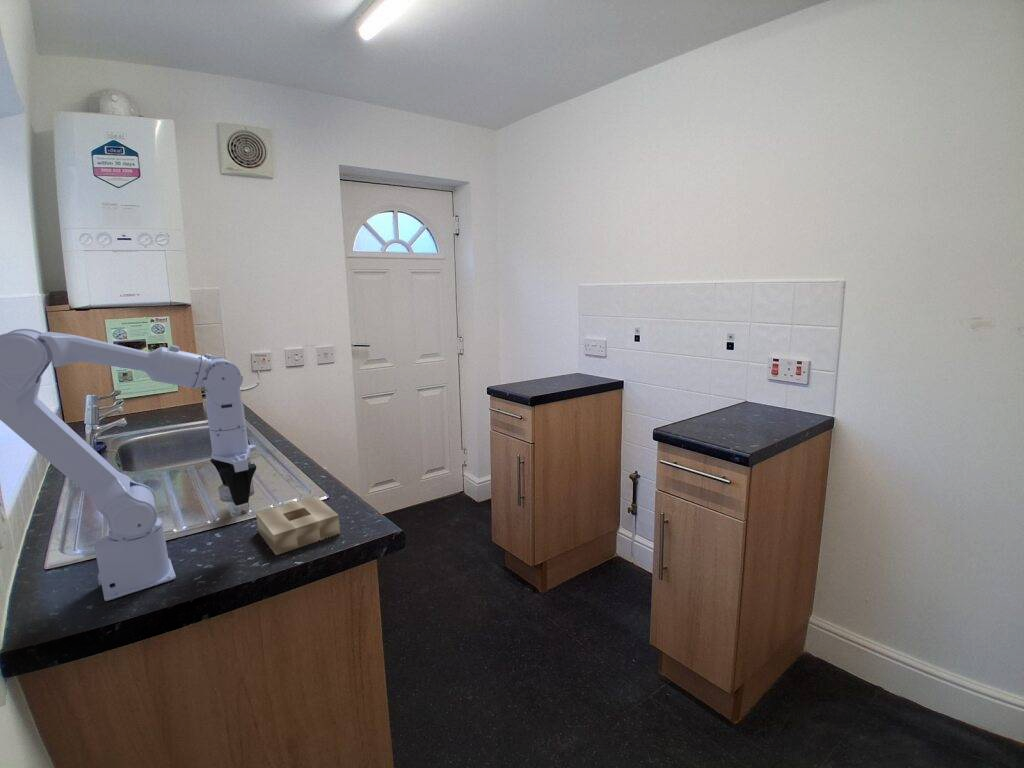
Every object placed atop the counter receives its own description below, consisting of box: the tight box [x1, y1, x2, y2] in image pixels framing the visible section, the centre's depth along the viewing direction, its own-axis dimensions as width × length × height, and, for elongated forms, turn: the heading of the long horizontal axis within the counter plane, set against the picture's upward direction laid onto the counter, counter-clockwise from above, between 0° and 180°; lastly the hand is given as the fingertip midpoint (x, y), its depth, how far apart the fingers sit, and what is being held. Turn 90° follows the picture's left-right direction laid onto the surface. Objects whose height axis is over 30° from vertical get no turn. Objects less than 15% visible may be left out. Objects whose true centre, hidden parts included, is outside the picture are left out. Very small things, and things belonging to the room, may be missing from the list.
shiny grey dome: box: [217, 480, 255, 518], centre depth 93 cm, size 6×6×6 cm
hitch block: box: [255, 496, 341, 556], centre depth 100 cm, size 12×12×4 cm
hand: (237, 498), depth 93 cm, fingers closed on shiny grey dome, 6 cm apart
